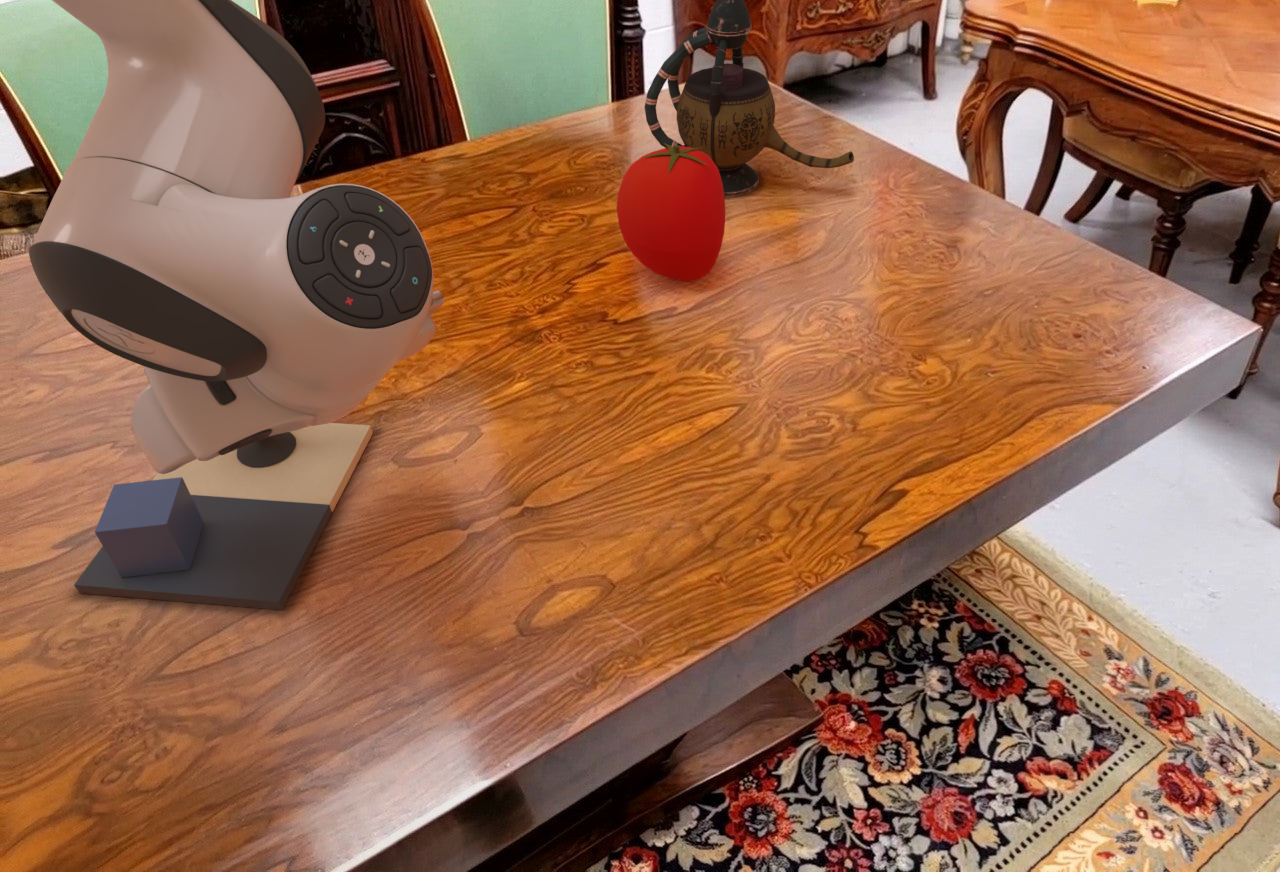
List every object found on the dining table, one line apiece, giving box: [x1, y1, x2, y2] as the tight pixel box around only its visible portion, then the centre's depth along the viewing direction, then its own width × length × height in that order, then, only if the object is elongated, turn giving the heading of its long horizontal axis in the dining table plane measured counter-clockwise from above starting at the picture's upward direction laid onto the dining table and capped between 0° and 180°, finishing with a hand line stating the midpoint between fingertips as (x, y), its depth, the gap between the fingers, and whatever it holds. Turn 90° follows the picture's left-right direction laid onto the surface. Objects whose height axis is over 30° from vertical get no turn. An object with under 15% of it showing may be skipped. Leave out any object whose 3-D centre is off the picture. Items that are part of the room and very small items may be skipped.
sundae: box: [237, 432, 296, 467], centre depth 76 cm, size 7×7×15 cm
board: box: [73, 422, 374, 611], centre depth 76 cm, size 16×20×1 cm
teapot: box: [644, 0, 855, 198], centre depth 111 cm, size 12×25×23 cm, turn 71°
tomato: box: [616, 143, 726, 282], centre depth 99 cm, size 13×11×14 cm
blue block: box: [94, 477, 204, 578], centre depth 70 cm, size 5×5×5 cm
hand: (279, 403), depth 69 cm, fingers open, 8 cm apart
